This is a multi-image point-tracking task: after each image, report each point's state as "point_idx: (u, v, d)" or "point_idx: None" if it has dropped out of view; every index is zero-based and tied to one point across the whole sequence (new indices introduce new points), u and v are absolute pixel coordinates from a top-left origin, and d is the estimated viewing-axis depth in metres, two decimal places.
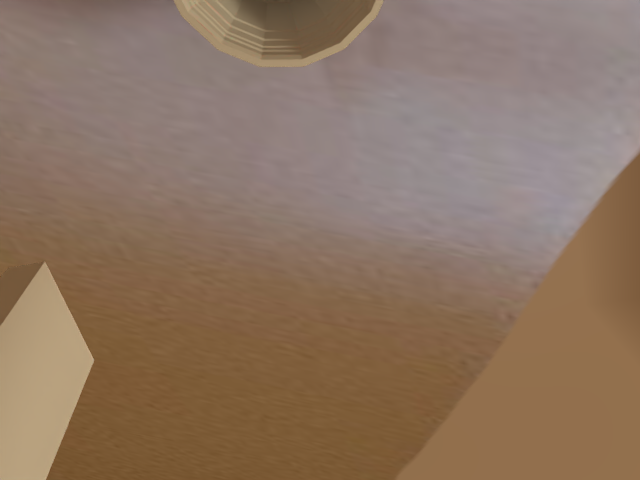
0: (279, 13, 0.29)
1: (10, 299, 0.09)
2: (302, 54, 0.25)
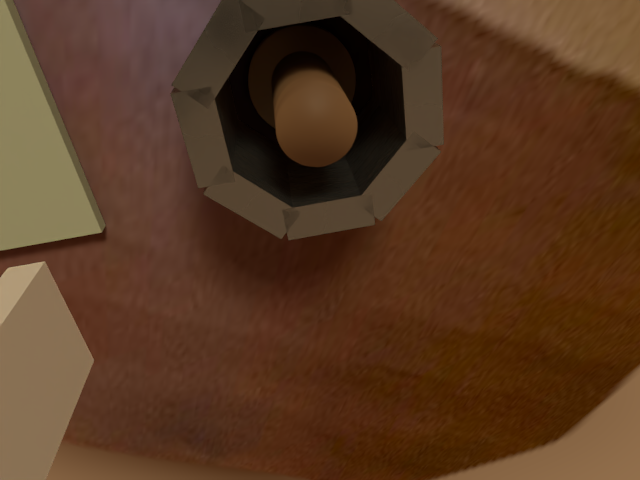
0: None
1: (10, 299, 0.09)
2: None
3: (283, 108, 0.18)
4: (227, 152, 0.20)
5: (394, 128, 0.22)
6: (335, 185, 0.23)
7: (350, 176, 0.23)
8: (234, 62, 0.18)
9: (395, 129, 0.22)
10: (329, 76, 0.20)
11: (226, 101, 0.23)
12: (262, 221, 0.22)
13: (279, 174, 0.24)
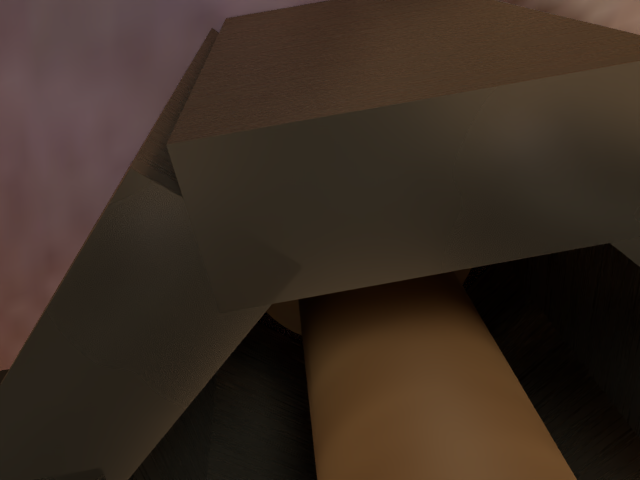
0: None
1: None
2: None
3: None
4: None
5: (622, 426, 0.08)
6: None
7: None
8: (181, 400, 0.05)
9: (628, 434, 0.08)
10: (481, 344, 0.07)
11: None
12: None
13: None
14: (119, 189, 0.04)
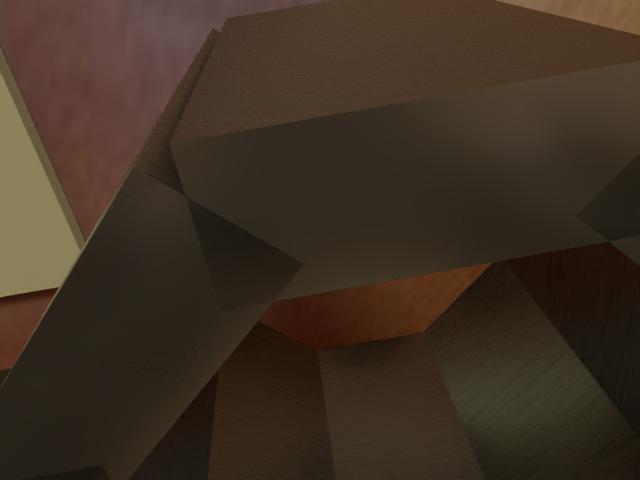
0: None
1: None
2: None
3: None
4: None
5: (621, 425, 0.08)
6: None
7: None
8: (182, 397, 0.05)
9: (628, 432, 0.08)
10: None
11: None
12: None
13: None
14: (122, 188, 0.04)
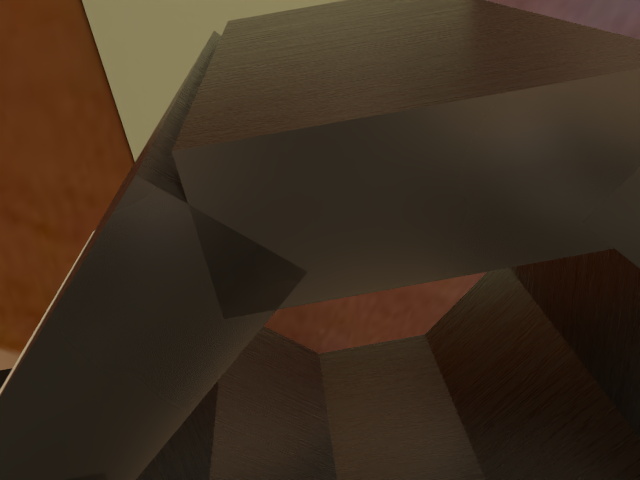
0: None
1: None
2: None
3: None
4: None
5: (624, 429, 0.08)
6: None
7: None
8: (184, 405, 0.05)
9: (631, 437, 0.08)
10: None
11: None
12: None
13: None
14: (124, 195, 0.04)
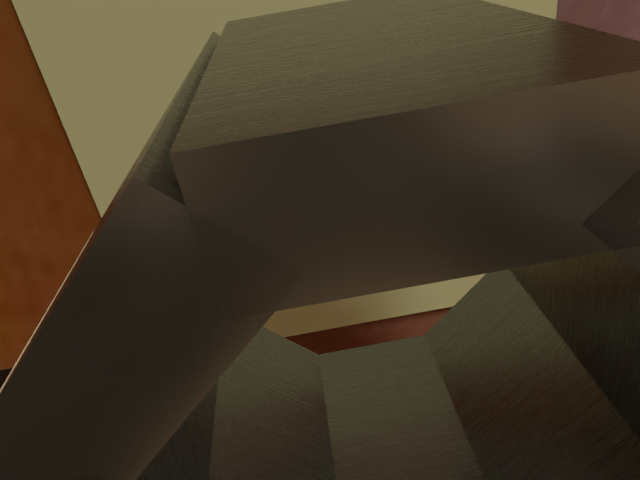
0: None
1: None
2: None
3: None
4: None
5: (624, 430, 0.08)
6: None
7: None
8: (183, 407, 0.05)
9: (630, 438, 0.08)
10: None
11: None
12: None
13: None
14: (121, 198, 0.04)
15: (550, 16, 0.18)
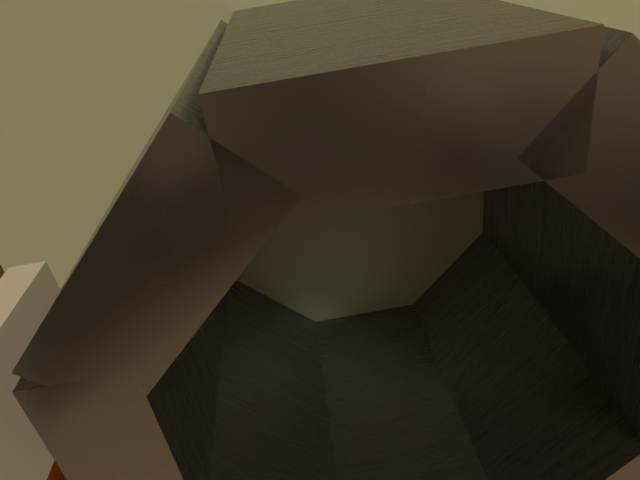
0: None
1: (11, 298, 0.09)
2: None
3: None
4: None
5: (582, 370, 0.10)
6: None
7: (466, 447, 0.11)
8: (202, 311, 0.06)
9: (587, 375, 0.09)
10: None
11: None
12: None
13: (312, 430, 0.11)
14: (160, 129, 0.05)
15: None
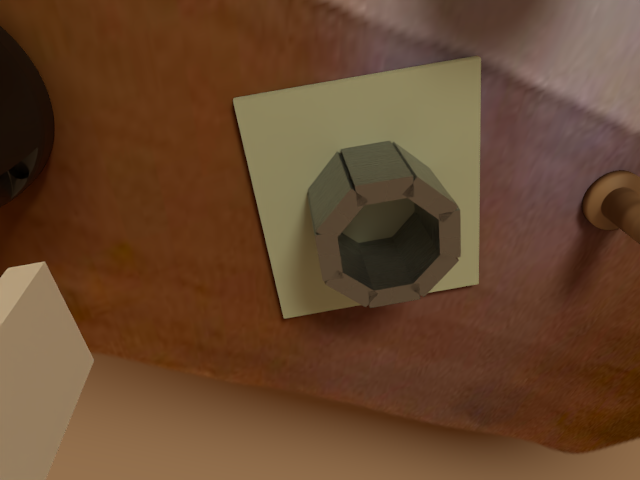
0: None
1: (10, 299, 0.09)
2: None
3: None
4: (340, 263, 0.36)
5: (431, 243, 0.38)
6: (396, 275, 0.39)
7: (404, 268, 0.39)
8: (350, 220, 0.34)
9: (432, 244, 0.38)
10: None
11: None
12: (356, 298, 0.38)
13: (361, 266, 0.40)
14: (349, 190, 0.33)
15: (477, 158, 0.41)
